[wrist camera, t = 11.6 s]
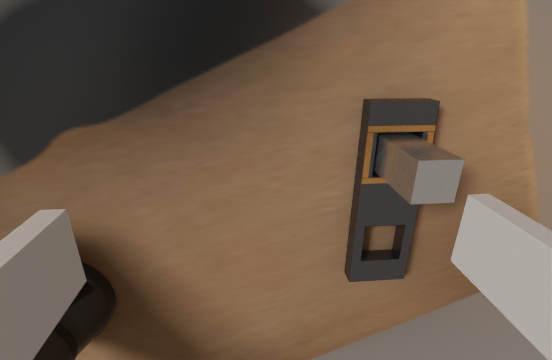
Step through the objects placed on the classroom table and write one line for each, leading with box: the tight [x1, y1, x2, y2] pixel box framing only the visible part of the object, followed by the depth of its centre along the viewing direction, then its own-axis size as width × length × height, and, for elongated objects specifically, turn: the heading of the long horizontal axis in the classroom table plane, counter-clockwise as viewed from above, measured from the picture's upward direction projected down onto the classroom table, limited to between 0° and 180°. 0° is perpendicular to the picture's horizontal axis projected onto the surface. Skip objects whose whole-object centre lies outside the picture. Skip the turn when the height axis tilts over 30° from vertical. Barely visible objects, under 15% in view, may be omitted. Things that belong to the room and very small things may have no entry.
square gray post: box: [373, 132, 465, 204], centre depth 39 cm, size 5×5×12 cm
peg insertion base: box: [345, 99, 440, 282], centre depth 45 cm, size 9×28×3 cm, turn 0°
